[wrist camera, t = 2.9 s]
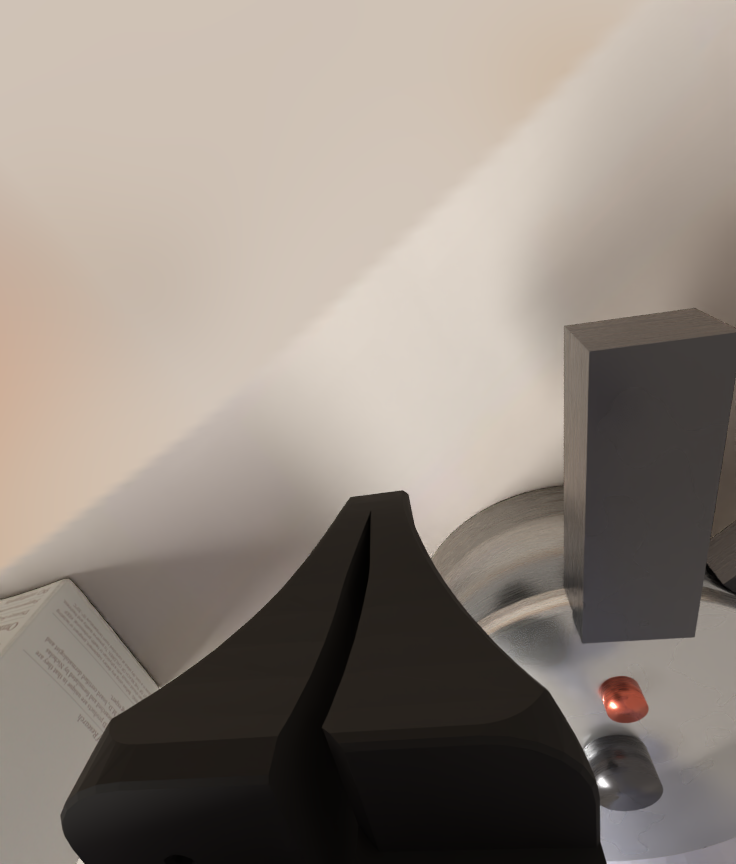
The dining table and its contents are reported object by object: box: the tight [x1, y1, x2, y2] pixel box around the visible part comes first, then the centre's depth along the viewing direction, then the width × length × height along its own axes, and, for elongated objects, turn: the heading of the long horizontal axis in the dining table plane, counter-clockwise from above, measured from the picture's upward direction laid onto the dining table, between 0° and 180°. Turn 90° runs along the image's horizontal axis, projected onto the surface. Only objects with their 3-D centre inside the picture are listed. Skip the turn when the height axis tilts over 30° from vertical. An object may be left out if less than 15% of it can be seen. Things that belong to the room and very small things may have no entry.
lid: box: [477, 308, 736, 861], centre depth 13 cm, size 18×12×2 cm, turn 9°
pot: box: [431, 486, 736, 622], centre depth 16 cm, size 11×18×4 cm, turn 144°
